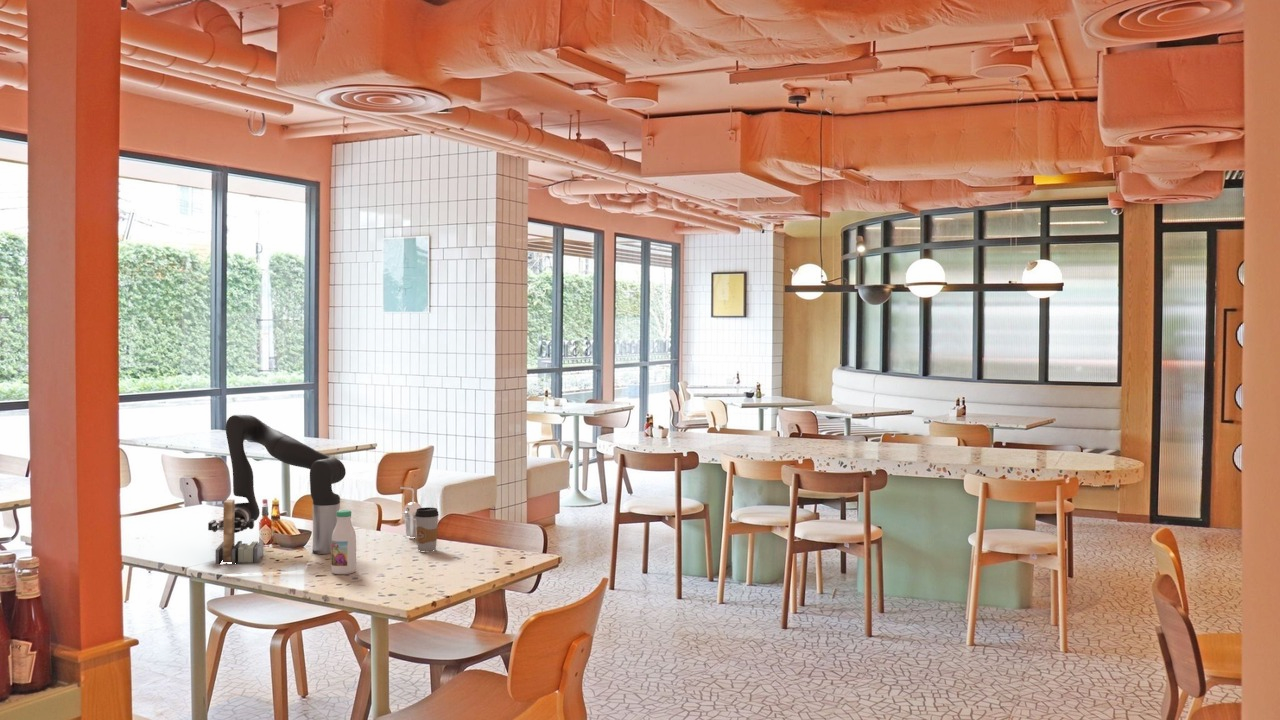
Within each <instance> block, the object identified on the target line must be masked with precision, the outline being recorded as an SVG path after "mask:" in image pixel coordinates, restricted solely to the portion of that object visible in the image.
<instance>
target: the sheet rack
mask: <svg viewBox="0 0 1280 720" xmlns="http://www.w3.org/2000/svg"><path fill="white" fill-rule="evenodd" d="M242 544H243V542H242V540H238V541H237V542H236V544H235V546H234V547H233V548H232V564H231V565H246V564H247V565H250V564H251V565H252V564H258V563H259V562H260V560H261V559H262V557H263V556H264V539H260V540H259V542H258V544H257V545H256V547H255V548H254V562H238V549H239V547H240V546H241V545H242ZM222 560H223V541H222V542H221V543H220V544H219V545H218V546H217V548H215V565H216V564H220V563H221V561H222ZM235 563H236V564H235Z"/></svg>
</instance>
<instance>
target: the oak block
mask: <svg viewBox="0 0 1280 720" xmlns="http://www.w3.org/2000/svg"><path fill="white" fill-rule="evenodd" d="M235 501H236V499H225V501H223V519H222V520H223V535H222V536H223V539H222V540H223V541H222V542H223V562H232V548H233V547H234V546H235V545H236V544H235V543H236V542H235V536H236V535H235V534H236V533H235V504H236V502H235Z"/></svg>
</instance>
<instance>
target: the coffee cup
mask: <svg viewBox="0 0 1280 720" xmlns="http://www.w3.org/2000/svg"><path fill="white" fill-rule="evenodd" d="M439 515H440V514H439V511H438V508H437V507H422V508H418V509H417V511H416V514H415V516H416V533H417V539H416V542H417V543H416V544H417V550H418V551H419V550H420V551H433V550H435V551H436V549H437V540H438V538H437V537H438V523H439ZM433 552H434V551H433Z"/></svg>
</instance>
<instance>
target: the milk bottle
mask: <svg viewBox="0 0 1280 720" xmlns="http://www.w3.org/2000/svg"><path fill="white" fill-rule="evenodd" d="M351 519H352V511H351V510H349V509H345V510H344V509H340V511H337V524H336V527H335V529H334V531H333V534H332V548H331V555H330V556H331V557H330V559H331V560H330V561H331V562H330V568H331V574H334V575H349V574H354V573H356V571H357V535H356V531H355V528H354V526H353V524H352V521H351Z"/></svg>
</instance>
